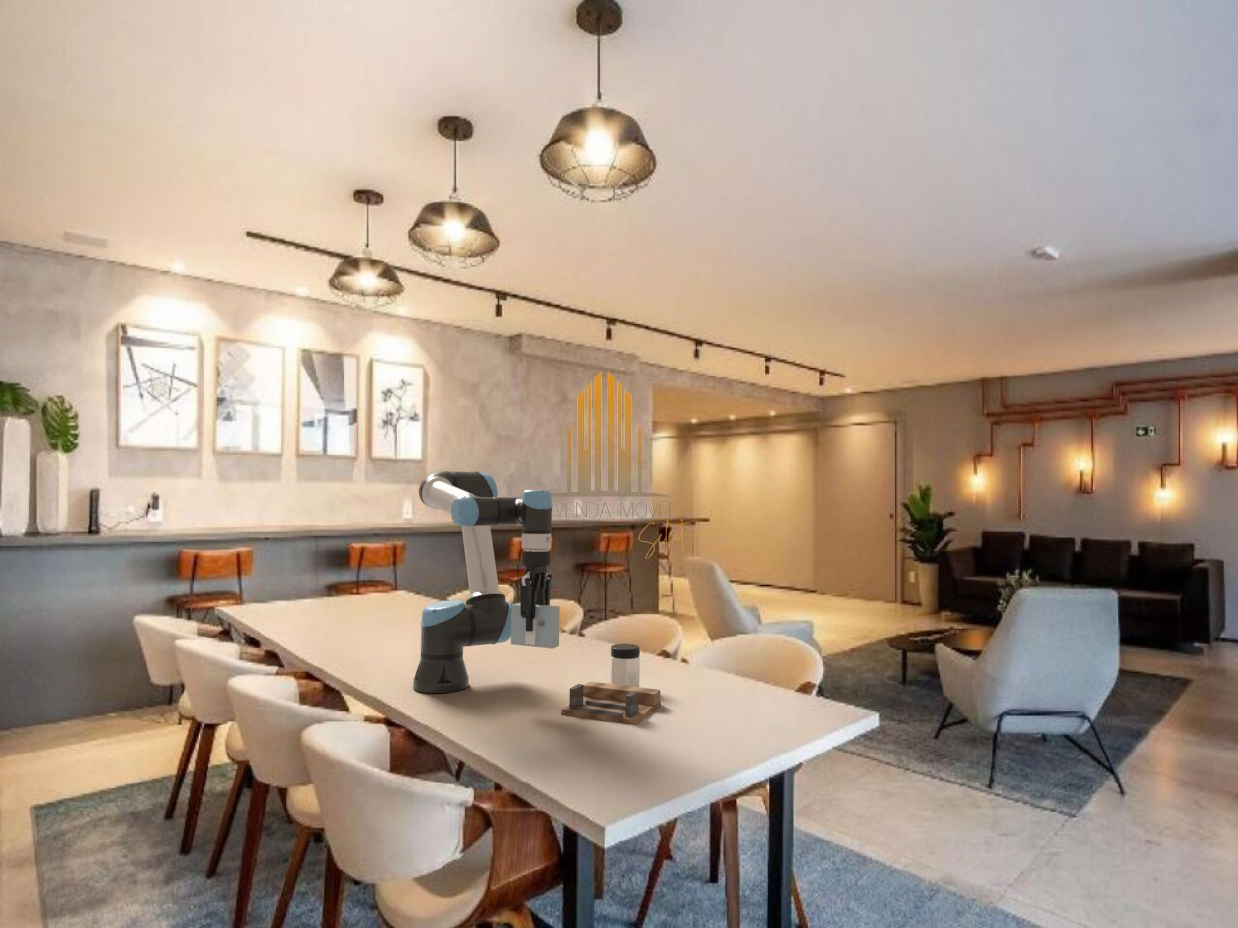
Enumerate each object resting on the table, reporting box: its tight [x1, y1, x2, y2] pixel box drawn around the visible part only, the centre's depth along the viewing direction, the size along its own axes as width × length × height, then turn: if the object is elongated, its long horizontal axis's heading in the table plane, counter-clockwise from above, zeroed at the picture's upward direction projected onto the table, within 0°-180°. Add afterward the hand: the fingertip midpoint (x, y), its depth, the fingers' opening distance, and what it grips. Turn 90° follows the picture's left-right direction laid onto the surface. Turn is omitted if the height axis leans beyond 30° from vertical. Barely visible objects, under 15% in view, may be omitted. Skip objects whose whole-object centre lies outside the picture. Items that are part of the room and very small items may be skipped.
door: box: [510, 602, 561, 649], centre depth 183 cm, size 12×4×10 cm, turn 68°
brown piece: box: [560, 681, 662, 726], centre depth 183 cm, size 20×18×6 cm
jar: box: [609, 643, 641, 687], centre depth 202 cm, size 9×8×12 cm
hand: (534, 642), depth 183 cm, fingers closed on door, 3 cm apart
